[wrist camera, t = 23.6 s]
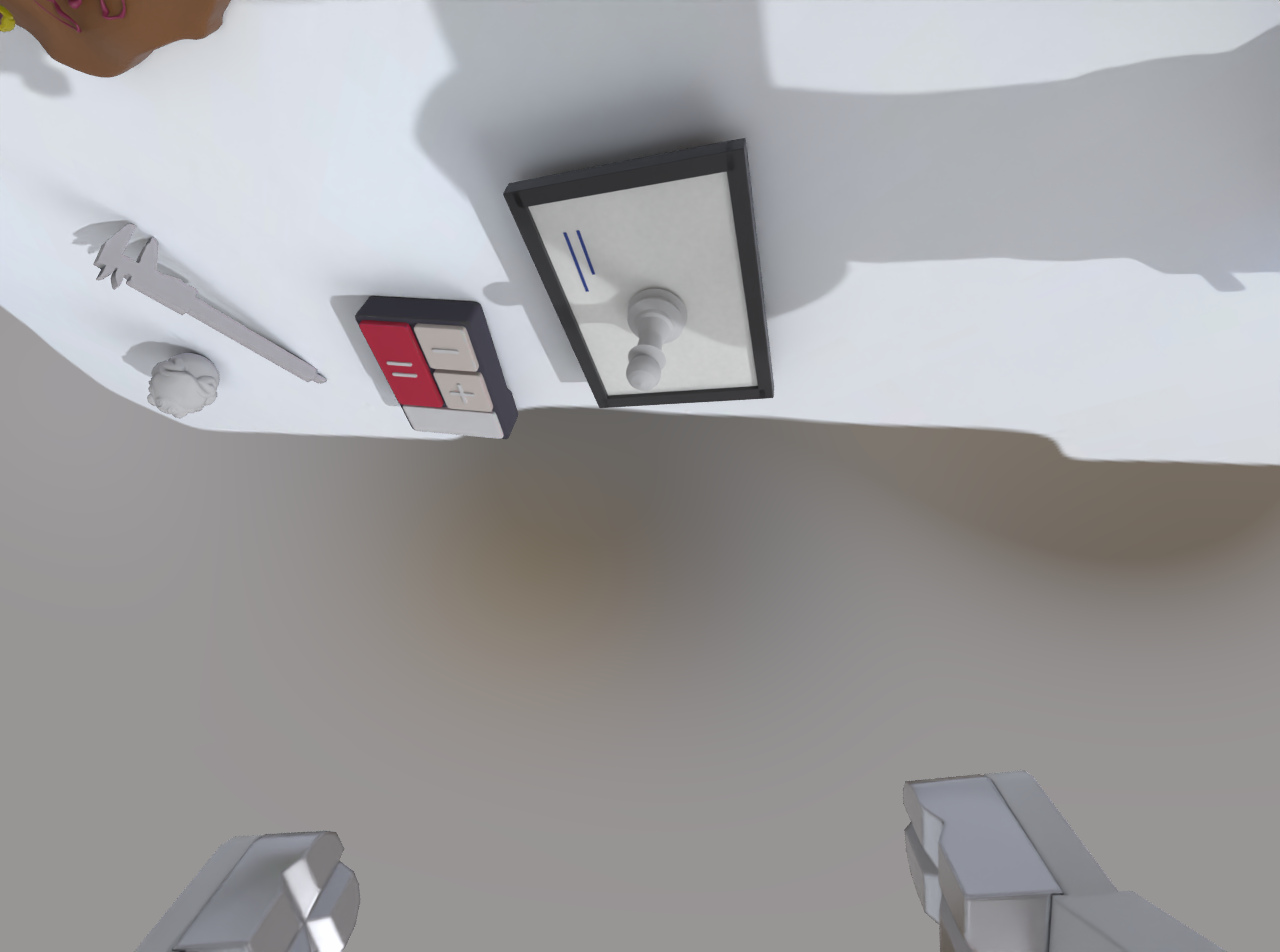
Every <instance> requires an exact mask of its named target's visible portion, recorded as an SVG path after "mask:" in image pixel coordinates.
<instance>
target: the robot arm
mask: <svg viewBox="0 0 1280 952" xmlns="http://www.w3.org/2000/svg"><path fill="white" fill-rule="evenodd" d="M903 802H904V803H903V804H904V806H905V808H906V811H907V813H908V815H909V818H910V820H911V822H910V824H909V825H908V826H907V827H906V829H905V841H906V842H905V843H906V852H907V857H908V861H909V867H910V871H911V875H912V878H913V881H914V884H915V887H916V891H917V893H918V896H919V898H920V901H921V903H922V906H923V909H924V911H925V913H926V914H927V915H928V916H929V917H931V918H932V919H933V920H934V921H935V922H936V923H938V924H939V929H940V951H941V952H1227V951H1225V950H1224V949H1222V948H1220V947H1219V946H1217V945H1216V944H1214V943H1213V942H1211V941H1209V940H1208V939H1206V938H1205V937H1203V936H1202V935H1200V934H1199V933H1197V932H1196V931H1194V930H1192V929H1191V928H1189V927H1187V926H1186V925H1185V924H1183V923H1182V922H1180V921H1178V920H1177V919H1175V918H1174V917H1172V916H1171V915H1169V914H1167V913H1166V912H1164V911H1163V910H1161V909H1160V908H1158V907H1157V906H1155V905H1153V904H1152V903H1150V902H1148V901H1147V900H1146V899H1144V898H1143V897H1141V896H1139V895H1138V894H1136V893H1135V892H1133V891H1122V892H1118V890H1117V889H1116V887H1115V886H1114V885H1113V884H1112V882H1111V881H1110V879H1109V878H1108V877H1107V875H1106V874H1105V873H1104V871H1103V870H1102V869H1101V867H1100V866H1099V865H1098V863H1097V862H1096V861H1095V859H1094V858H1093V857H1092V855H1091V854H1090V852H1089V851H1088V850H1087V848H1086V847H1085V846H1084V845H1083V843H1082V842H1081V840H1080V839H1079V838H1078V836H1077V835H1076V834H1075V832H1074V831H1073V830H1072V828H1071V827H1070V826H1069V824H1068V823H1067V822H1066V820H1065V819H1064V817H1063V816H1062V815H1061V813H1060V812H1059V811H1058V809H1057V808H1056V807H1055V805H1054V804H1053V803H1052V801H1051V800H1050V799H1049V797H1048V796H1047V795H1046V793H1045V792H1044V790H1043V789H1042V788H1041V787H1040V785H1039V784H1038V782H1037V781H1036V780H1035V779H1034V777H1033V776H1032V775H1030V774H1028V773H1027V772H1026V771H1013V772H1002V773H991V774H984V775H980V774H978V775H967V776H956V777H946V778H936V779H925V780H915V781H905V784H904V788H903ZM343 851H344V847H343V845H342V843H341V841H340V839H339V837H338V835H337V833H336V832H330V831H316V832H298V833H279V834H265V835H252V836H236V837H233V838H232V839H230V840H228V841H227V842H225V843H224V844H222V845H221V846H220V847H219V848H218V849H217V851H216V852H215V853H214V854H213V855H212V857H211V858H210V859H209V860H208V862H207V863H206V864H205V865H204V867H203V868H202V869H201V870H200V871H199V873H198V874H197V875H196V876H195V878H194V879H193V880H192V881H191V883H190V884H189V885H188V886H187V887H186V889H185V890H184V891H183V892H182V893H181V895H180V896H179V897H178V898H177V900H176V901H175V902H174V903H173V904H172V906H171V907H170V908H169V909H168V911H167V912H166V913H165V914H164V916H163V917H162V918H161V919H160V920H159V922H158V923H157V924H156V925H155V927H154V928H153V929H152V930H151V931H150V933H149V934H148V935H147V936H146V938H145V939H144V940H143V941H142V943H141V944H140V945H139V946H138V948H137V949H136V950H135V951H134V952H341V951H342V950H343V949H344V948H345V946H346V944H347V942H348V940H349V938H350V935H351V933H352V931H353V929H354V927H355V924H356V919H357V914H358V910H359V905H360V892H359V883H358V881H357V878H356V876H355V873H354V871H353V870H351V869H350V868H349V867H347V866H346V865H344V864H343V863H342V862H340V861H339V860H340V858H341V855H342V853H343Z"/></svg>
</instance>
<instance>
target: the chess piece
mask: <svg viewBox="0 0 1280 952" xmlns="http://www.w3.org/2000/svg"><path fill="white" fill-rule="evenodd" d="M627 312H628V316H627V321H628V325H629V328H630V329H631V331H632V332H633V333H634V334H635V335H636V336H637V337H638V338H639V341H638V344H637V346H635V347H633V348H632V349H631V350H630V351H629V353H628V361H629V364H628V366H627V369H626V377H627V380H628V382H629V384H630V385H631V386H632V387H634V388H635V389H637V390H641V391H647V390H650V389H652V388H654V387H655V386H656V385H657V384H658V383H659V381H660V378H661V370H662V369H663V368H664V366H665V364H666V358H665V355H664V354H663V352H662V345H663V344H666V343H669V342H672V341H674V340H675V339H677V338H678V337H679V336H680V334H681V333H682V331H683V328H684V326H685V324H686V322H687V311H686V307H685V306H684V304H683V302H682V301H681V300H680V299H679V298H678V297H677V296H675V295H674V294H673V293H671V292H669V291H666V290H663V289H647V290H644V291H641V292H639V293H637V294H636V295H635V296H634V297H633V298H632V299H631V300H630V302H629V305H628V311H627Z"/></svg>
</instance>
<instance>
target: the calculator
mask: <svg viewBox="0 0 1280 952" xmlns="http://www.w3.org/2000/svg"><path fill="white" fill-rule="evenodd" d="M355 318H356V320H357V322H358V324H359V327H360V329H361V331H362V333H363V335H364V337H365V339H366V341H367V342H368V344H369V346H370V348H371V350H372V352H373V354H374V356H375V358H376V360H377V362H378V364H379V366H380V367H381V369H382V371H383V373H384V375H385V377H386V379H387V381H388V383H389V385H390V387H391V389H392V391H393V393H394V394H395V396H396V398H397V400H398V402H399V403H400V405H401V407H402V409H403V411H404V413H405V415H406V417H407V419H408V421H409V423H410V425H411V427H412V428H413V429H414V430H416V431H423V432H434V433H445V434H456V435H466V436H477V437H488V438H499V439H508V438H509V436H510V433H511V431H512V429H513V426H514V424H515V422H516V419H517V417H518V412H517V409H516V406H515V402H514V399H513V396H512V393H511V391H510V390H508V389H507V386H506V383H505V380H504V377H503V374H502V370H501V367H500V364H499V361H498V358H497V354H496V351H495V348H494V345H493V342H492V338H491V335H490V332H489V329H488V326H487V322H486V319H485V316H484V313H483V310H482V307H481V305H480V304H479V303H477V302H465V301H447V300H429V299H411V298H394V297H376V296H371V297H369V298H368V300H367V301H366V302H365V303H364V305H363V306H362V307H361V309H360V310H359V311H358V312H357V314H356V315H355Z"/></svg>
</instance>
